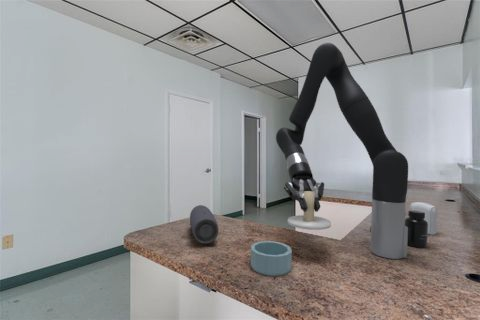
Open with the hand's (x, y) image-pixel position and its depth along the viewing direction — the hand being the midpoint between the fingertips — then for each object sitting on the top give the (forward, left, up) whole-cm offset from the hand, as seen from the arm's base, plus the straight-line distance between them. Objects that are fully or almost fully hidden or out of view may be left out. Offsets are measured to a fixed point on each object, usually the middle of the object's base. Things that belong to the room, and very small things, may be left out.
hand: (311, 210), depth 74 cm
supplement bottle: (-41, -16, -15) cm, 46 cm away
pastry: (-35, -30, -15) cm, 49 cm away
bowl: (+12, +8, -14) cm, 21 cm away
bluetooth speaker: (+36, -14, -15) cm, 42 cm away
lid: (0, -2, -5) cm, 5 cm away
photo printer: (-55, -34, -15) cm, 66 cm away
